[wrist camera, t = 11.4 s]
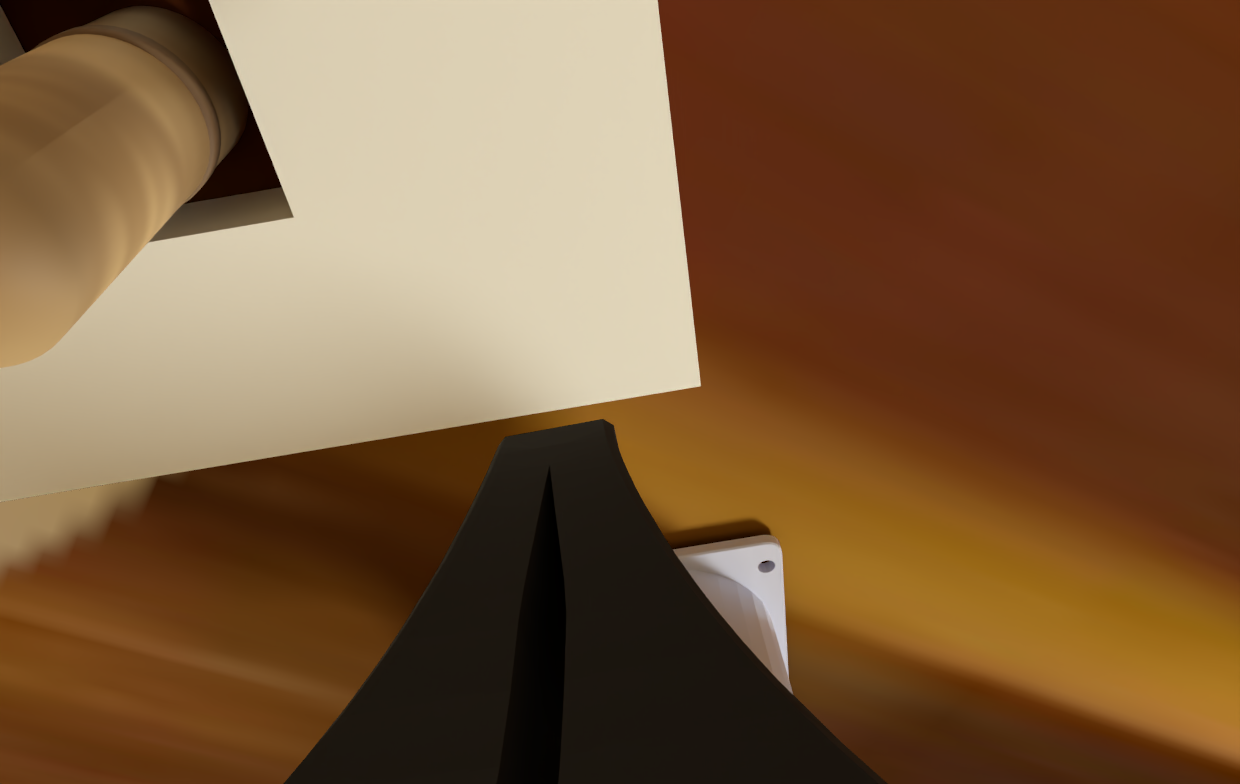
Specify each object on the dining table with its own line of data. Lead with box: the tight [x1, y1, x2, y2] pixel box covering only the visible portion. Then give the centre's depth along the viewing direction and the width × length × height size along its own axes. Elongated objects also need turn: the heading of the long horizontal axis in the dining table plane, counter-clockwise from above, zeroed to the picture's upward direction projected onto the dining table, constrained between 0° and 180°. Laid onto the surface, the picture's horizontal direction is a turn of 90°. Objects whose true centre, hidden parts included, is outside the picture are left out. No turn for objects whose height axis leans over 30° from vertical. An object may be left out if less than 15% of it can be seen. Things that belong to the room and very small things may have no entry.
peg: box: [0, 6, 248, 368], centre depth 14 cm, size 3×3×8 cm
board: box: [0, 0, 701, 502], centre depth 17 cm, size 16×20×2 cm
